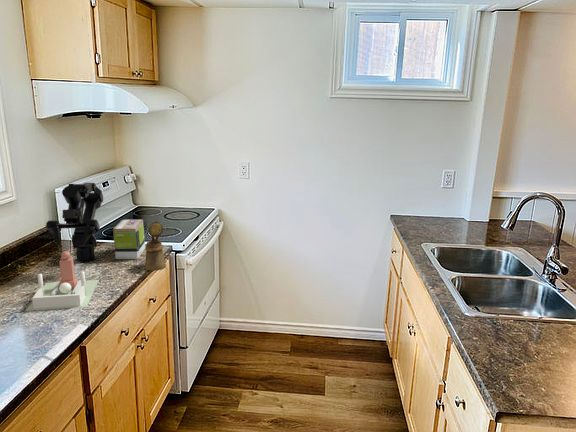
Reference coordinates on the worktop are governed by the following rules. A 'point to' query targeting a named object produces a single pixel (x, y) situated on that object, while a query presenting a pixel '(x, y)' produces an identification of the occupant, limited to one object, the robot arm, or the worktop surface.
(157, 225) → the brown pawn figure
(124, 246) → the tea box
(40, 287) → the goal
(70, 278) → the striker
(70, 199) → the robot arm
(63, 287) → the ball
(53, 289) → the pitch
